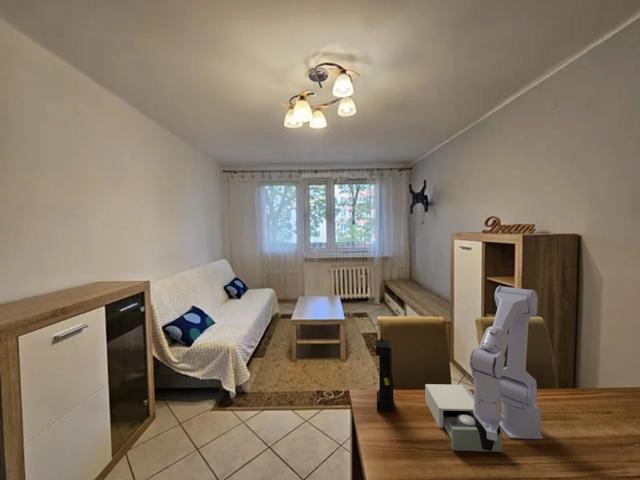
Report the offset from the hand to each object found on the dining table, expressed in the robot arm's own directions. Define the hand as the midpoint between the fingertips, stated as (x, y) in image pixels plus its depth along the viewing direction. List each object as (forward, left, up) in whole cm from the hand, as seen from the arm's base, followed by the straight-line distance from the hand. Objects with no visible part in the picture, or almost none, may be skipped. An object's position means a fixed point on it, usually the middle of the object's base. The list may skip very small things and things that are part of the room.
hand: (486, 448), depth 73 cm
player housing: (0, -22, -5) cm, 22 cm away
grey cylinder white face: (0, -11, -4) cm, 12 cm away
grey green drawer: (0, -12, -5) cm, 13 cm away
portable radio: (+22, -25, -5) cm, 33 cm away
